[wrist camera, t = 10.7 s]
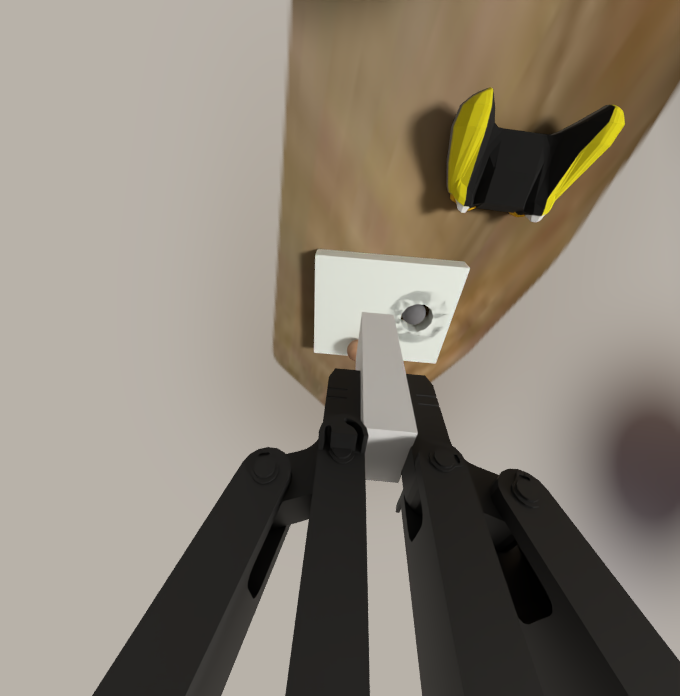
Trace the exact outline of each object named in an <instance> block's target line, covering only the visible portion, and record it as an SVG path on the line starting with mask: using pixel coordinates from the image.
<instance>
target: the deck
mask: <svg viewBox="0 0 680 696" xmlns="http://www.w3.org/2000/svg"><path fill="white" fill-rule="evenodd" d="M469 270H470V267H469V266H468V265H467V264H466V263H465V262H463V261H452V260H440V259H429V258H417V257H406V256H394V255H383V254H371V253H360V252H348V251H337V250H325V249H317V252H316V254H315V315H314V353H325V354H336V355H347V356H348V354H347V347H348V345H349V344H350V342H352V341H353V340H357V339H358V338H359V331H360V323H361V316H362V312H368V313H379V314H391V315H394V318H395V323H396V328H397V333H398V338H399V343H400V348H401V353H402V358H403V361H414V362H425V363H436V361H437V358H438V355H439V353H440V350H441V347H442V344H443V342H444V339H445V336H446V333H447V331H448V328H449V325H450V322H451V320H452V317H453V314H454V311H455V308H456V306H457V303H458V300H459V297H460V295H461V292H462V289H463V286H464V284H465V281H466V278H467V275H468V273H469ZM415 304H421V305H426V306H427V307H429V308H430V309H429V313H428V315H427V316H426V317H425V318H424V319H423V321H422V322H420V323H419V324H415V325H412V324H408V323H406V322H405V321H403V320H402V319H401V315H402V313H403V312H404V311H405V310H406V308H407V307H410V306H412V305H415Z"/></svg>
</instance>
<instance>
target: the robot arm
mask: <svg viewBox="0 0 680 696" xmlns="http://www.w3.org/2000/svg"><path fill="white" fill-rule="evenodd" d="M401 475H402V482H403V491H402V493H401V496H400V498H399V500H398V503H397V506H396V512H398V513H399V512H400V510H402V519H403V529H404V537H405V546H406V555H407V563H408V573H409V582H410V591H411V600H412V609H413V617H414V625H415V635H416V644H417V653H418V662H419V670H420V680H421V688H422V696H680V661H679V660H678V659H677V657H676V656H675V655H674V653H673V652H672V651H671V649H670V648H669V647H668V646H667V644H666V643H665V642H664V641H663V639H662V638H661V636H660V635H659V634H658V633H657V631H656V630H655V629H654V627H653V626H652V625H651V624H650V622H649V621H648V620H647V619H646V617H645V616H644V615H643V613H642V612H641V611H640V609H639V608H638V607H637V605H636V604H635V603H634V601H633V600H632V599H631V598H630V596H629V595H628V594H627V592H626V591H625V590H624V589H623V587H622V586H621V585H620V583H619V582H618V581H617V579H616V578H615V577H614V576H613V574H612V573H611V572H610V570H609V569H608V568H607V567H606V566H605V564H604V563H603V561H602V560H601V559H600V557H599V556H598V555H597V553H595V551H594V549H593V548H592V547H591V546H590V544H589V543H588V542H587V541H586V539H585V538H584V537H583V535H582V534H581V533H580V531H579V530H578V529H577V527H576V526H575V525H574V524H573V522H572V521H571V520H570V518H569V517H568V516H567V514H566V513H565V512H564V511H563V509H562V508H561V507H560V506H559V504H558V503H557V501H556V500H555V499H554V498H553V497H552V495H551V494H550V492H549V491H548V490H547V489H546V488H545V487H544V486H543V484H541V482H540V481H539V480H537V479H536V478H534V477H533V476H532V475H530V474H528V473H526V472H524V471H521V470H518V469H507V470H505V471H502V472H501V474H500V475H497V474H495V473H492V472H490V471H487V470H484V469H482V468H479V467H477V466H475V465H473V464H471V463H469V462H467V461H466V460H465V459H464V458H463V456H462V454H461V453H460V452H459V451H458V450H457V449H456V448H455V447H453V446H452V444H451V442H450V439H449V436H448V433H447V429H446V426H445V423H444V420H443V416H442V413H441V410H440V407H439V403H438V401H437V398H436V394H435V390H434V387H433V385H432V384H431V382H430V381H429V380H428V379H427V378H426V376H423V375H412V374H406V372H405V368H404V363H403V358H402V353H401V348H400V343H399V338H398V333H397V328H396V323H395V318H394V315H391V314H379V313H368V312H362V316H361V323H360V331H359V338H358V346H357V354H356V370H347V369H336V368H335V370H334V371H333V372H332V374H331V375H330V376H329V381H328V389H327V396H326V404H325V411H324V419H323V423H322V425H321V427H320V430H319V439H318V440H317V441H316V442H315V443H314V444H313V445H312V446H310V447H309V448H307V449H305V450H301V451H298V452H294V453H289V454H285V453H284V452H282V451H281V450H279V449H277V448H270V447H267V448H262V449H258V450H256V451H255V452H253V453H251V454H250V455H249V456H248V457H247V458H246V459H245V460H244V461H243V463H242V464H241V466H240V467H239V469H238V470H237V472H236V473H235V475H234V476H233V478H232V480H231V481H230V483H229V484H228V486H227V487H226V489H225V490H224V492H223V494H222V495H221V497H220V498H219V500H218V501H217V503H216V504H215V506H214V507H213V509H212V511H211V512H210V514H209V515H208V517H207V519H206V520H205V521H204V523H203V525H202V526H201V528H200V529H199V531H198V532H197V534H196V535H195V537H194V539H193V540H192V542H191V543H190V545H189V546H188V548H187V549H186V551H185V552H184V554H183V556H182V557H181V559H180V560H179V562H178V563H177V565H176V566H175V568H174V570H173V571H172V573H171V574H170V576H169V577H168V579H167V580H166V582H165V583H164V585H163V587H162V588H161V590H160V591H159V593H158V594H157V596H156V597H155V599H154V601H153V602H152V604H151V605H150V607H149V608H148V610H147V611H146V613H145V615H144V616H143V618H142V619H141V621H140V622H139V624H138V625H137V627H136V628H135V630H134V632H133V633H132V635H131V636H130V638H129V639H128V641H127V643H126V644H125V646H124V647H123V649H122V650H121V652H120V653H119V655H118V656H117V658H116V659H115V661H114V663H113V664H112V666H111V667H110V669H109V670H108V672H107V673H106V675H105V677H104V678H103V680H102V681H101V683H100V684H99V686H98V688H97V689H96V691H95V692H94V694H93V695H92V696H221V694H222V692H223V690H224V687H225V685H226V682H227V680H228V677H229V675H230V672H231V670H232V667H233V665H234V663H235V660H236V658H237V655H238V652H239V650H240V648H241V645H242V643H243V640H244V638H245V636H246V633H247V631H248V628H249V626H250V623H251V621H252V618H253V616H254V613H255V611H256V608H257V606H258V604H259V601H260V599H261V596H262V594H263V591H264V589H265V586H266V584H267V581H268V579H269V577H270V574H271V571H272V569H273V567H274V564H275V562H276V559H277V557H278V554H279V552H280V549H281V547H282V544H283V542H284V540H285V537H286V535H287V532H288V530H289V527H290V525H291V524H294V523H297V522H300V521H304V520H307V519H309V523H308V530H307V538H306V545H305V552H304V560H303V567H302V575H301V582H300V590H299V598H298V605H297V613H296V620H295V628H294V635H293V642H292V650H291V657H290V665H289V672H288V680H287V687H286V695H285V696H370V689H369V688H370V685H369V638H368V637H369V636H368V635H369V634H368V584H367V536H366V491H365V490H366V489H365V480H374V481H385V482H396V483H398V482H399V480H400V477H401Z"/></svg>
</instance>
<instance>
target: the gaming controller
mask: <svg viewBox="0 0 680 696" xmlns="http://www.w3.org/2000/svg"><path fill="white" fill-rule="evenodd" d="M624 125H625V122H624V113H623V111H622V110H621V109H620V108H619V107H618V106H616V105H606V106H604V107H602V108H600V109H599V110H597V111H595V112H593V113H592V114H590V115H588V116H586V117H585V118H583V119H581V120H579V121H578V122H576V123H574V124H572V125H570V126H568V127H566V128H564V129H563V130H561V131H559V132H557V133H554V134H550V135H547V134H539V133H532V132H525V131H518V130H510V129H503V128H499V127H497V125H496V124H495V102H494V92H493V89H492V88H491V87H490V88H487V89H484V90H482V91H479V92H477V93H475V94H474V95H472V96H471V97H469V98H468V99H467V100H466V101H465V102H463V103H462V104H461V105H460V107H459V110H458V112H457V114H456V117H455V119H454V122H453V124H452V126H451V133H450V141H449V148H448V156H447V190H448V192H449V193H450V199H451V200H452V201H454V202H455V203H456V204H457V209H458V210H459V211H460V212H463V213H465V212H466V211H467V210H468V211H469V210H472V209H474V208H480V209H488V210H495V211H503V212H509V214H510V215H513V216H515V217H523V216H526V217H527V218H528V219H529V220H530V221H531V222H538V221H540V220H541V219H542V218H543V217H544V215H545V214H547V213H548V212H549V211H550V210H551V208H552V206H553V204H554V202H555V200H556V199H557V198H558V197H559V196H560V195H561V194H562V193H563V192H564V191H565V190H566V189H567V188H568V187H569V186H570V185H571V184H572V183H573V182H574V181H575V180H576V179H577V178H578V177H579V176H581V175H582V174H583V173H584V172H585V171H586V170H587V169H588V168H589V167H590V166H591V165H592V164H593V163H594V162H595V161H596V160H597V159H598V158H599V157H600V156H601V155H602V154H603V153H604V152H605V151H606V150H607V149H608V148H609V147H610V146H611V144H612V143H613V141H614V140H615V138H616V137H617V135H618V134H619V132H620V131H621V129H622V128H623V126H624Z"/></svg>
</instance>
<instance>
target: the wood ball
mask: <svg viewBox="0 0 680 696" xmlns="http://www.w3.org/2000/svg"><path fill="white" fill-rule="evenodd" d="M357 346H358V339H357V340H353V341H352V342H350V344H349V345H348V347H347V354H348V356H349V357H350V359H352V360H353V361H356V354H357Z"/></svg>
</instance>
